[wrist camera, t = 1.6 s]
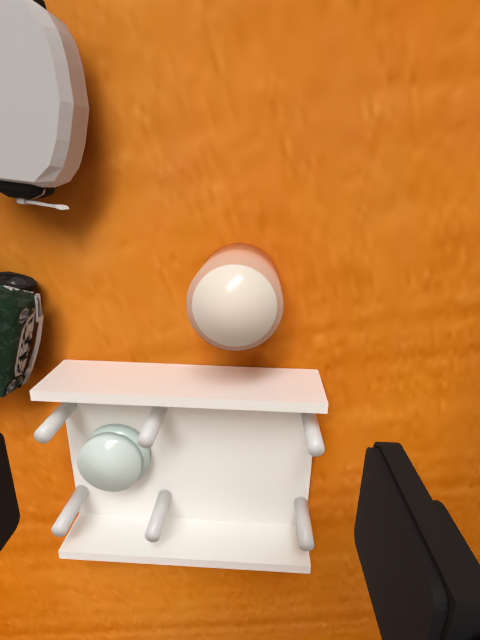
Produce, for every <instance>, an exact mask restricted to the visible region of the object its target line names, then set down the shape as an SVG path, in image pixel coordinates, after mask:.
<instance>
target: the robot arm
mask: <svg viewBox="0 0 480 640" xmlns="http://www.w3.org/2000/svg"><path fill="white" fill-rule="evenodd" d="M19 519H20V512H19V507H18V503H17V498H16V493H15V488H14V484H13V479H12V474H11V469H10V464H9V460H8V455H7V450H6V445H5V440H4V437H3V435H2V434H1V433H0V551H1V550H2V548H3V547H4V545H5V544H6V543H7V541H8V540H9V538H10V537H11V535H12V534H13V533H14V531H15V530H16V528H17V526H18V523H19ZM354 537H355V544H356V548H357V552H358V555H359V559H360V562H361V566H362V570H363V573H364V577H365V580H366V584H367V587H368V591H369V594H370V598H371V602H372V605H373V609H374V612H375V616H376V619H377V623H378V626H379V630H380V634H381V637H382V640H480V565H479V563H478V561H477V560H476V558H475V556H474V555H473V553H472V551H471V550H470V548H469V546H468V544H467V543H466V541H465V539H464V538H463V536H462V534H461V533H460V531H459V529H458V528H457V526H456V524H455V523H454V521H453V519H452V518H451V516H450V514H449V513H448V511H447V509H446V508H445V506H444V505H443V504H442V503H441V502H439V501H438V500H432V498H431V496H430V495H429V493H428V491H427V489H426V488H425V486H424V484H423V482H422V481H421V479H420V477H419V475H418V474H417V472H416V470H415V468H414V467H413V465H412V463H411V461H410V459H409V458H408V456H407V454H406V452H405V451H404V449H403V447H402V446H401V444H400V443H394V442H375V444H374V446H373V448H370V447H368V448H367V450H366V455H365V461H364V468H363V475H362V482H361V488H360V495H359V502H358V508H357V515H356V522H355V529H354Z"/></svg>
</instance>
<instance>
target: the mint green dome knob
mask: <svg viewBox="0 0 480 640" xmlns="http://www.w3.org/2000/svg"><path fill="white" fill-rule="evenodd" d="M139 434H140V432H138V431H137V430H135V429H134V428H132V427H130V426H127V425H123V424H108V425H104V426H101V427H99V428H98V429H96V430H95V431H94V432H93V433H92V435H91V436H90V437H89V439H88V440H87V441H86V443H85V444H84V446H83V447H82V449H81V450H80V452H79V454H78V457H77V466H78V470H79V472H80V474H81V476H82V477H83V478H84V479H85V480H86V481H87V482H88V483H89V484H90V485H92V486H94V487H95V488H98V489H100V490H103V491H109V492H118V491H123V490H126V489H128V488H130V487H131V486H132V485H133V484H134V483H135V482H137V481H138V480H140V479H141V478H142V477H143V476H144V474H145V473H146V471H147V468H148V466H149V463H150V460H151V448H142V447H140V446H139V445H138V443H137V438H138V436H139Z"/></svg>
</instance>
